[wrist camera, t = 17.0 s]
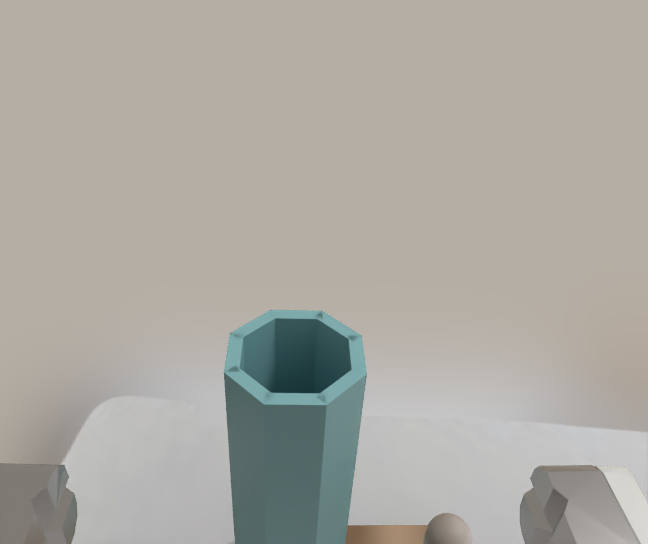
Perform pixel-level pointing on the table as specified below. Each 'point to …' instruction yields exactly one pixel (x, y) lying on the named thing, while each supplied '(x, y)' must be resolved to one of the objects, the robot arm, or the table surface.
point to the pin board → (413, 532)
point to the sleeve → (293, 426)
